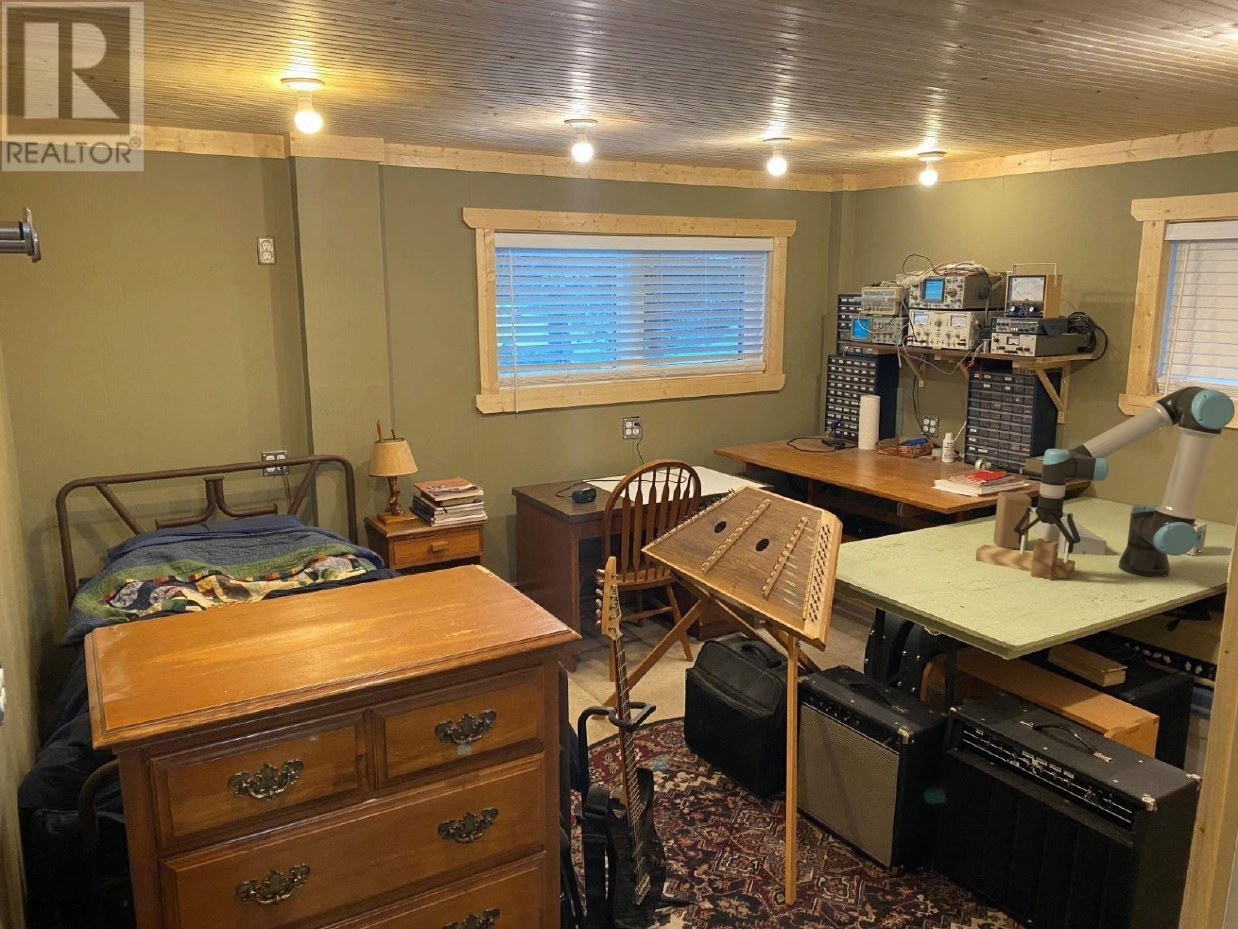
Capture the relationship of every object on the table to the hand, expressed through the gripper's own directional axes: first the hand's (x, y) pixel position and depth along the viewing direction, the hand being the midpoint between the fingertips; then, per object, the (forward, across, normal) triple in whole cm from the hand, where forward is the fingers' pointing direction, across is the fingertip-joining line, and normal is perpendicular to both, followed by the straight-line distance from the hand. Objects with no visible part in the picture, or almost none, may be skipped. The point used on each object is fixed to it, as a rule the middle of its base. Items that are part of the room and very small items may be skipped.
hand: (1043, 557), depth 293 cm
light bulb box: (+6, -34, -69) cm, 77 cm away
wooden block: (+7, +19, -31) cm, 37 cm away
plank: (+7, +8, -8) cm, 13 cm away
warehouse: (+7, +3, -51) cm, 52 cm away
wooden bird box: (+7, 0, -5) cm, 8 cm away
